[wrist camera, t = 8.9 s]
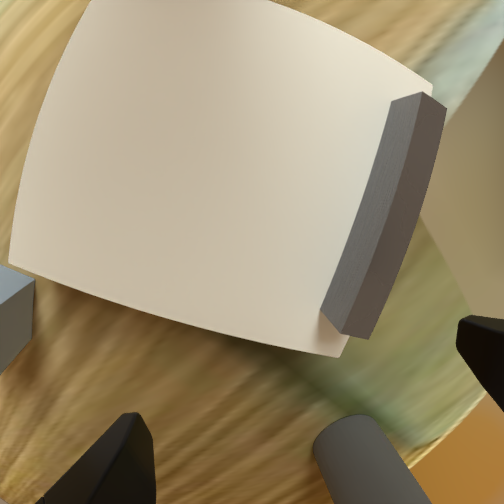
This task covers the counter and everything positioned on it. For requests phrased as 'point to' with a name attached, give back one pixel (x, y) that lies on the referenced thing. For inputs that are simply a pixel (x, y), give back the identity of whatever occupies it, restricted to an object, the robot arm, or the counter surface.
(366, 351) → the counter surface
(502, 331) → the robot arm
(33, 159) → the lid
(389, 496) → the bottle
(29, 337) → the blue gray block
